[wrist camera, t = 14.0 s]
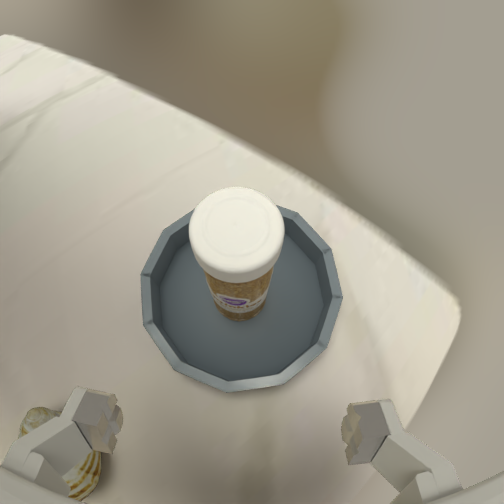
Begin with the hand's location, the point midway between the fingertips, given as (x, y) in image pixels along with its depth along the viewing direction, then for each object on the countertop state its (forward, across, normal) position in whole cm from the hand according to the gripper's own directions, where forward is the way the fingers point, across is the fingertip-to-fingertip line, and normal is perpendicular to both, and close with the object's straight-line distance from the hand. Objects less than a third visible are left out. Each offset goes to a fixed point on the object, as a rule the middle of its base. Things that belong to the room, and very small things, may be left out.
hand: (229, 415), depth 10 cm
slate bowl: (+17, 0, +6) cm, 18 cm away
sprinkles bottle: (+17, 0, +5) cm, 18 cm away
